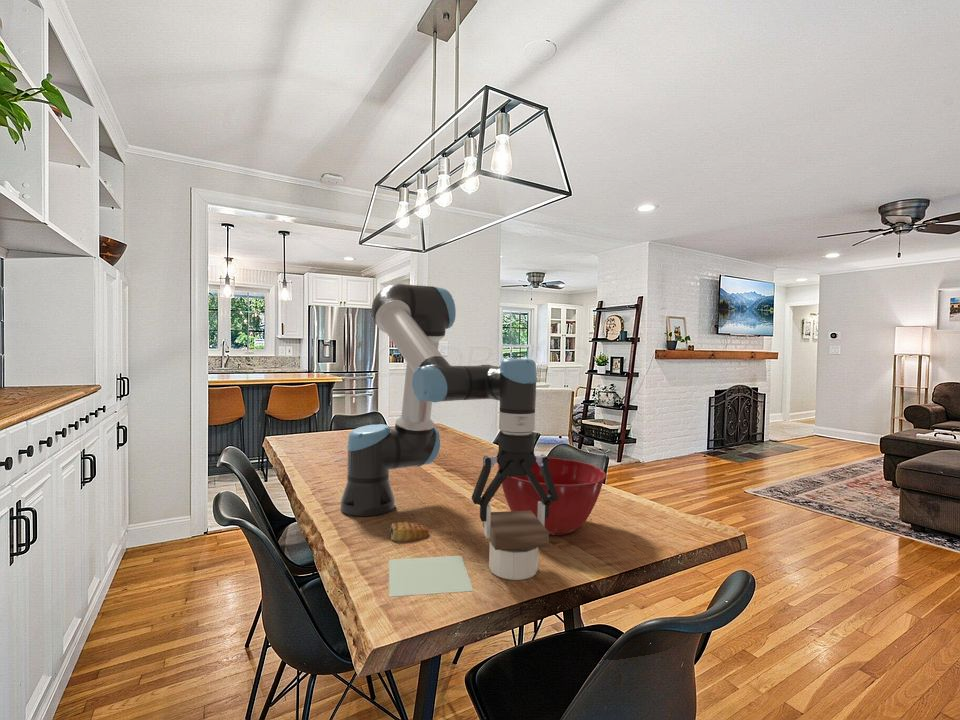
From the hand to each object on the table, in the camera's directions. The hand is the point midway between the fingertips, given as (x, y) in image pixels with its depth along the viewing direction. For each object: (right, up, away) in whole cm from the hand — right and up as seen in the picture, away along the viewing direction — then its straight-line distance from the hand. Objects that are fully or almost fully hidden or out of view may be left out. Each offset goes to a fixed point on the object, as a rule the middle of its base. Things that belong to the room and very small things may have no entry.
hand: (514, 534), depth 105 cm
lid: (0, 0, 0) cm, 0 cm away
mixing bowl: (+11, -7, +27) cm, 30 cm away
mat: (-18, -7, -3) cm, 20 cm away
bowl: (0, -8, 0) cm, 8 cm away
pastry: (-25, -7, +17) cm, 31 cm away
